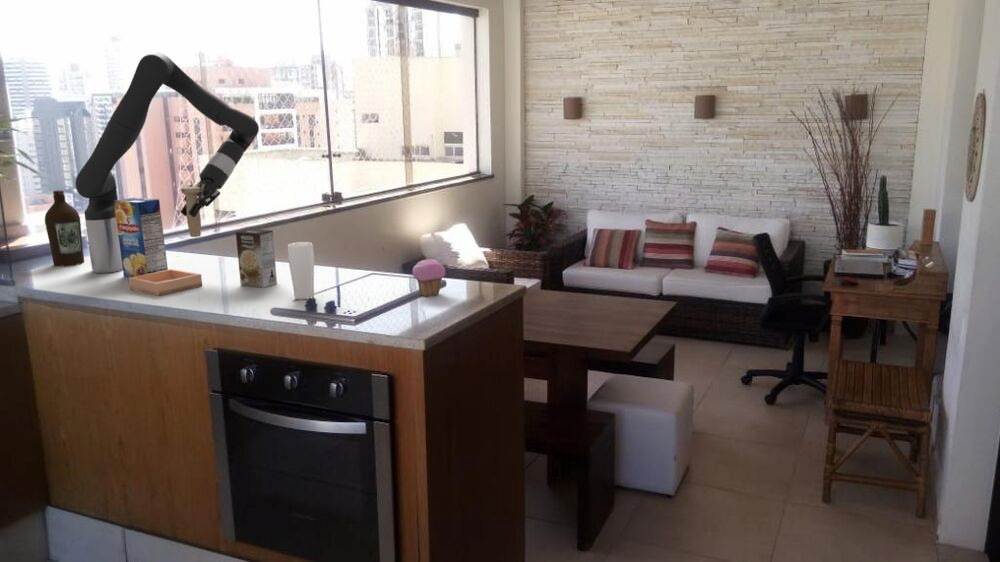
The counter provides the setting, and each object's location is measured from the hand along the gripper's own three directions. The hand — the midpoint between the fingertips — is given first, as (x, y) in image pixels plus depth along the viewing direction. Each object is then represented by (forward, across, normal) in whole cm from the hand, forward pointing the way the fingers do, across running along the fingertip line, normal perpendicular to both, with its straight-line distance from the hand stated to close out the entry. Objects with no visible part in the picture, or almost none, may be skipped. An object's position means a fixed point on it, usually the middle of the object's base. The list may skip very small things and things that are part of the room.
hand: (187, 214), depth 249 cm
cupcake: (-1, +78, +28) cm, 83 cm away
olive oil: (+21, -60, +8) cm, 64 cm away
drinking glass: (+13, +50, +14) cm, 54 cm away
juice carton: (+19, -17, +10) cm, 27 cm away
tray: (+22, +4, +5) cm, 24 cm away
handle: (+4, 0, +6) cm, 7 cm away
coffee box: (+10, +25, +17) cm, 32 cm away
